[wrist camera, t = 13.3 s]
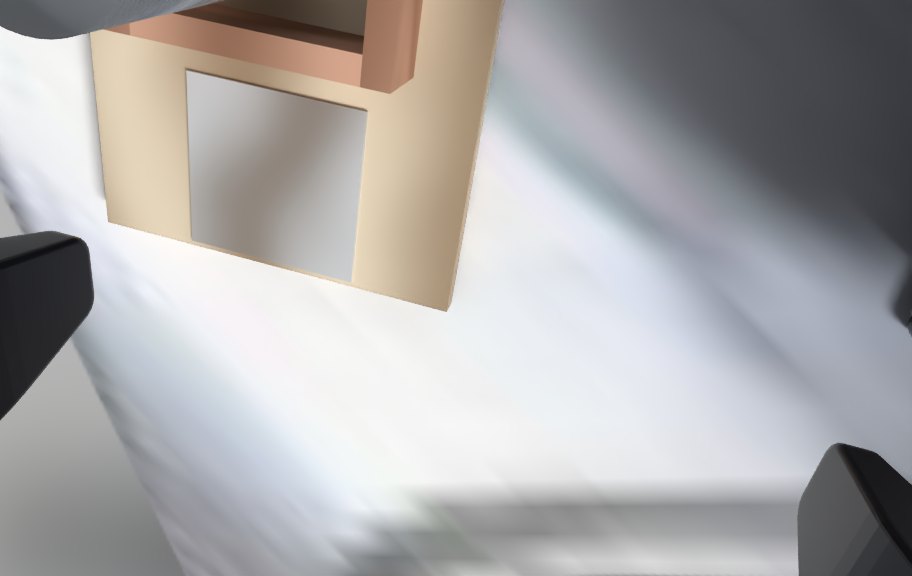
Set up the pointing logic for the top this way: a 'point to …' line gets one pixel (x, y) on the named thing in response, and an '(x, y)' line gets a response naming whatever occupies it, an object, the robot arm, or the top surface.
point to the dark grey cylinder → (82, 15)
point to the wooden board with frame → (302, 133)
